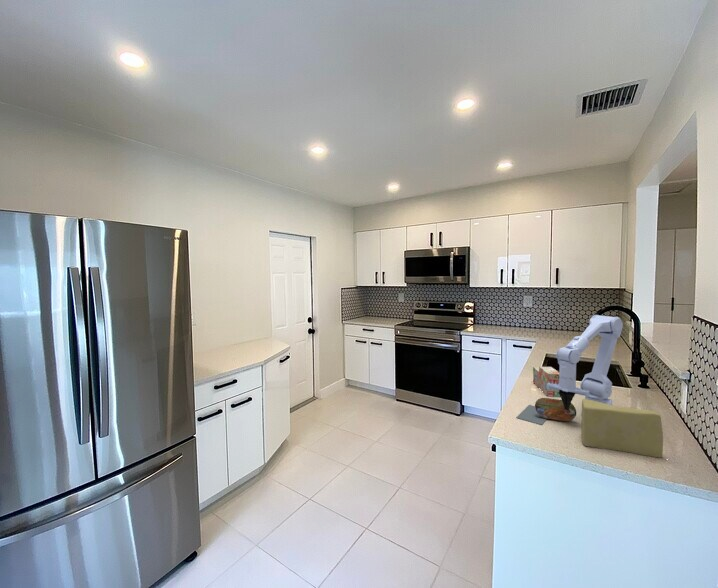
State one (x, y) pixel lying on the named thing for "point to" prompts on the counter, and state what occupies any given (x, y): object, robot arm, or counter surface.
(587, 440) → the cheese
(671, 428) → the counter surface
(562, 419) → the tin
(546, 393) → the printed cardboard box
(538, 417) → the mat
